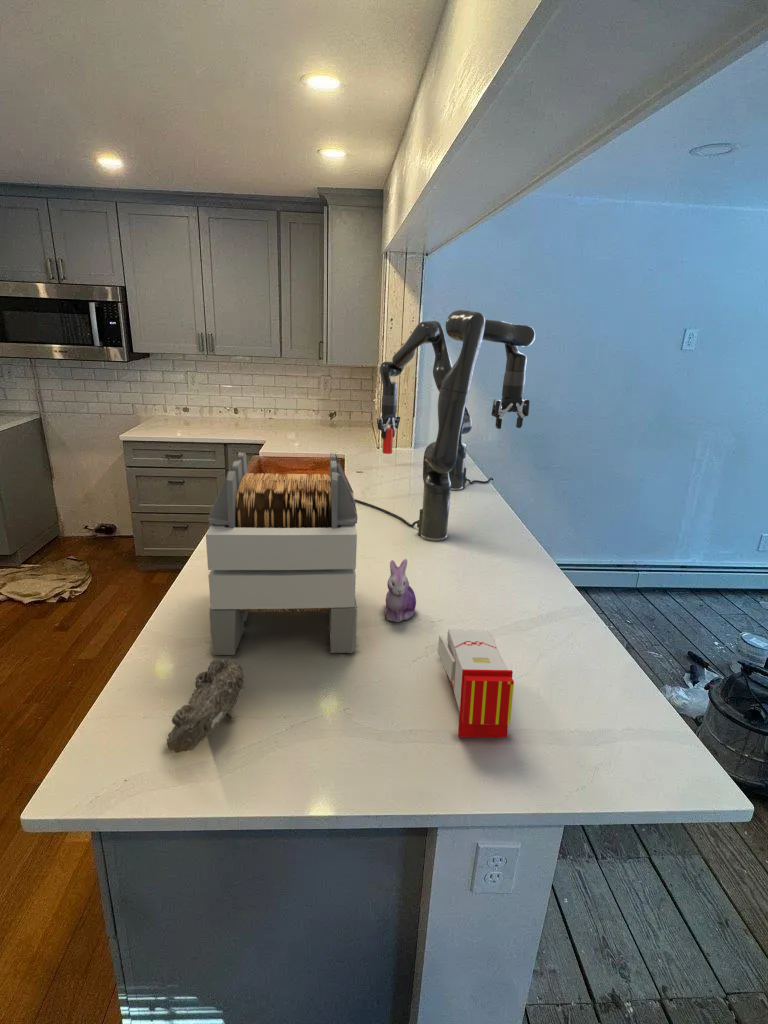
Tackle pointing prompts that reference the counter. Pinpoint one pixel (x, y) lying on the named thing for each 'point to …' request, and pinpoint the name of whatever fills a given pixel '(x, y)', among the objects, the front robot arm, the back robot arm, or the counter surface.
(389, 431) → the canister
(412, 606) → the figurine
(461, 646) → the toy
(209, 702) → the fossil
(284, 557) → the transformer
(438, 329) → the back robot arm
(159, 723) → the counter surface
